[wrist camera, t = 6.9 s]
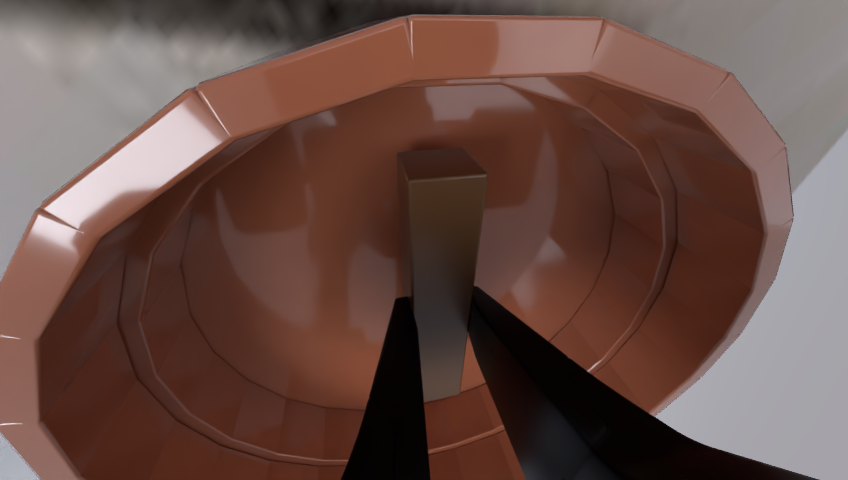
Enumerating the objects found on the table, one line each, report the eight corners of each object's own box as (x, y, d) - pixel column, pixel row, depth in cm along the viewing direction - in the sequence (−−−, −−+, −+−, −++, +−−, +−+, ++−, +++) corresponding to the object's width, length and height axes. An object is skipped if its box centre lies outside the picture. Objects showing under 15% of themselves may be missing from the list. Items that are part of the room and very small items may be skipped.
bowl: (561, 371, 19) (621, 467, 15) (254, 437, 16) (224, 580, 12) (715, 22, 9) (1029, 20, 5) (-31, 19, 6) (-891, 0, 2)
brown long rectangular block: (447, 354, 13) (460, 395, 12) (406, 362, 13) (414, 405, 11) (464, 146, 8) (490, 173, 7) (395, 150, 8) (407, 179, 6)
